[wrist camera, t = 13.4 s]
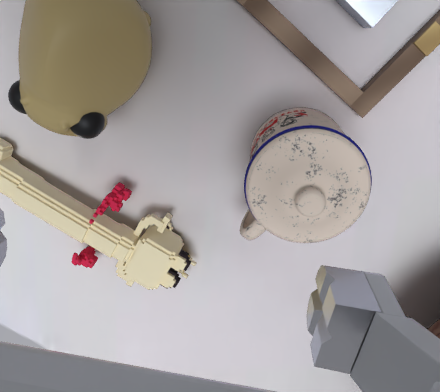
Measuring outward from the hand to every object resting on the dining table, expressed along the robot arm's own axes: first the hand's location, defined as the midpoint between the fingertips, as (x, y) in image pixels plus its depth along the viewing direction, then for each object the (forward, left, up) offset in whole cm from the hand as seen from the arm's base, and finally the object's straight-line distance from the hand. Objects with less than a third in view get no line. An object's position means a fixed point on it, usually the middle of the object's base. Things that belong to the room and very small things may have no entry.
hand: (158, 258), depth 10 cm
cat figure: (-4, -18, -28) cm, 33 cm away
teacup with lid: (+8, -2, -27) cm, 28 cm away
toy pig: (-11, -5, -27) cm, 30 cm away
